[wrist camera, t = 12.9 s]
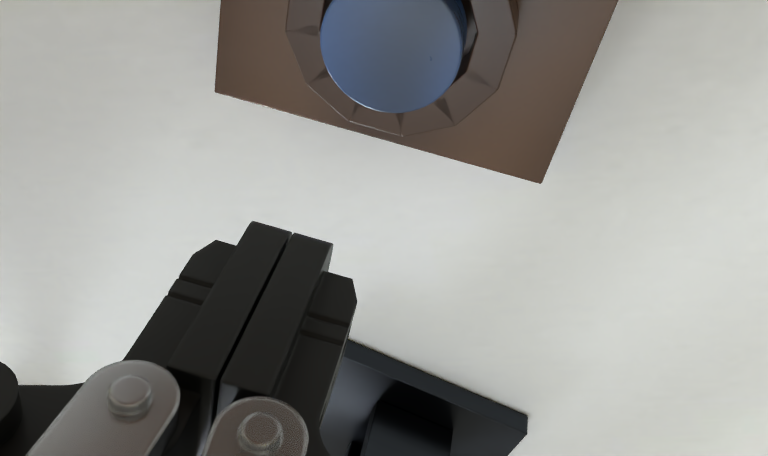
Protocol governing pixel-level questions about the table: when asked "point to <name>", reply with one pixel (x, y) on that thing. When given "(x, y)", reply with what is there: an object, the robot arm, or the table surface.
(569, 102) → the button block
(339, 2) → the light button
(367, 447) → the switch bracket
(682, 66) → the table surface
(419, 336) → the table surface
